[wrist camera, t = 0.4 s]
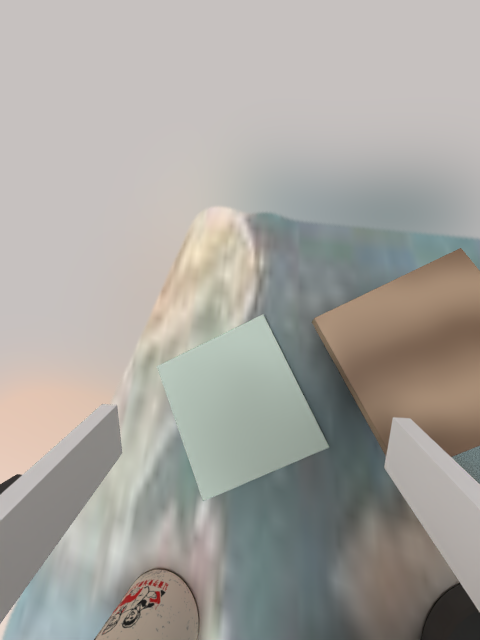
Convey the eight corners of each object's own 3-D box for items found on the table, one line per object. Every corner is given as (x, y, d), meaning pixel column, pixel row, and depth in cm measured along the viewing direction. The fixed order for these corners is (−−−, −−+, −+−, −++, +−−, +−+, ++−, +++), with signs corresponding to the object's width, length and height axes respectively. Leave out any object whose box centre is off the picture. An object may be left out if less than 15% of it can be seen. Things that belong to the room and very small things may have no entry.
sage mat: (327, 444, 26) (329, 447, 25) (206, 496, 27) (203, 501, 26) (263, 316, 30) (263, 314, 29) (160, 366, 31) (156, 366, 30)
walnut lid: (555, 398, 15) (586, 402, 13) (391, 465, 16) (402, 476, 14) (445, 258, 18) (460, 247, 16) (311, 322, 19) (314, 318, 17)
